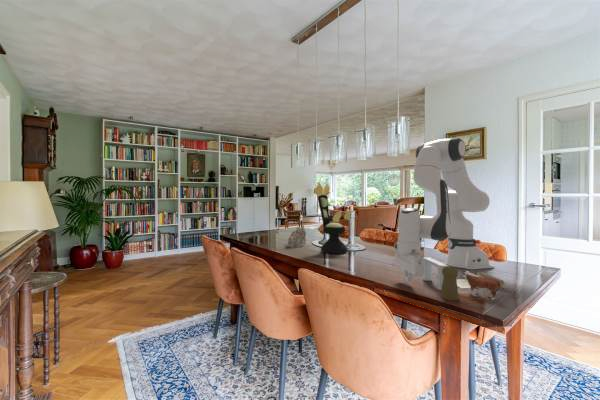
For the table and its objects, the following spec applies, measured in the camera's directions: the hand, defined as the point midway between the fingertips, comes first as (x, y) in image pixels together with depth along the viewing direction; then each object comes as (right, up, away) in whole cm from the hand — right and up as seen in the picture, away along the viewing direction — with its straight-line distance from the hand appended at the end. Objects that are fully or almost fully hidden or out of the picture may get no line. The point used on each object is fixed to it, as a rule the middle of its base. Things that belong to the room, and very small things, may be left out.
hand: (408, 280), depth 127 cm
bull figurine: (+22, -2, -13) cm, 25 cm away
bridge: (+11, -2, +1) cm, 11 cm away
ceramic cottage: (-48, +1, +92) cm, 104 cm away
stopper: (+35, -2, +2) cm, 35 cm away
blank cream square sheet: (+25, -2, +2) cm, 25 cm away
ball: (+15, +1, +1) cm, 15 cm away
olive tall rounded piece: (+10, -2, -14) cm, 18 cm away
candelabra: (-25, 0, +69) cm, 73 cm away
